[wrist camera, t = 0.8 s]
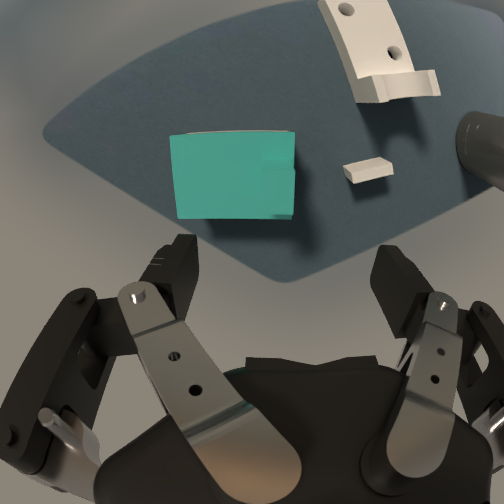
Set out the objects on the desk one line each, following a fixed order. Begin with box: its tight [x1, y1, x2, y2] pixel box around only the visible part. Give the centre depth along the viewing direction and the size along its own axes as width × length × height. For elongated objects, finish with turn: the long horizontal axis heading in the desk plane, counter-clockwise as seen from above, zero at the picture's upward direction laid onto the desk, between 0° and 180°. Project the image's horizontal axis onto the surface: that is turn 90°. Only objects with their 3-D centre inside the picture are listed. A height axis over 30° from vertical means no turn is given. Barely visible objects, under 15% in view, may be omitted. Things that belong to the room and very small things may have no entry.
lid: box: [170, 131, 295, 220], centre depth 23 cm, size 12×9×6 cm
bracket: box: [317, 0, 441, 103], centre depth 18 cm, size 13×7×8 cm, turn 20°
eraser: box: [343, 157, 394, 184], centre depth 27 cm, size 1×5×4 cm, turn 109°
